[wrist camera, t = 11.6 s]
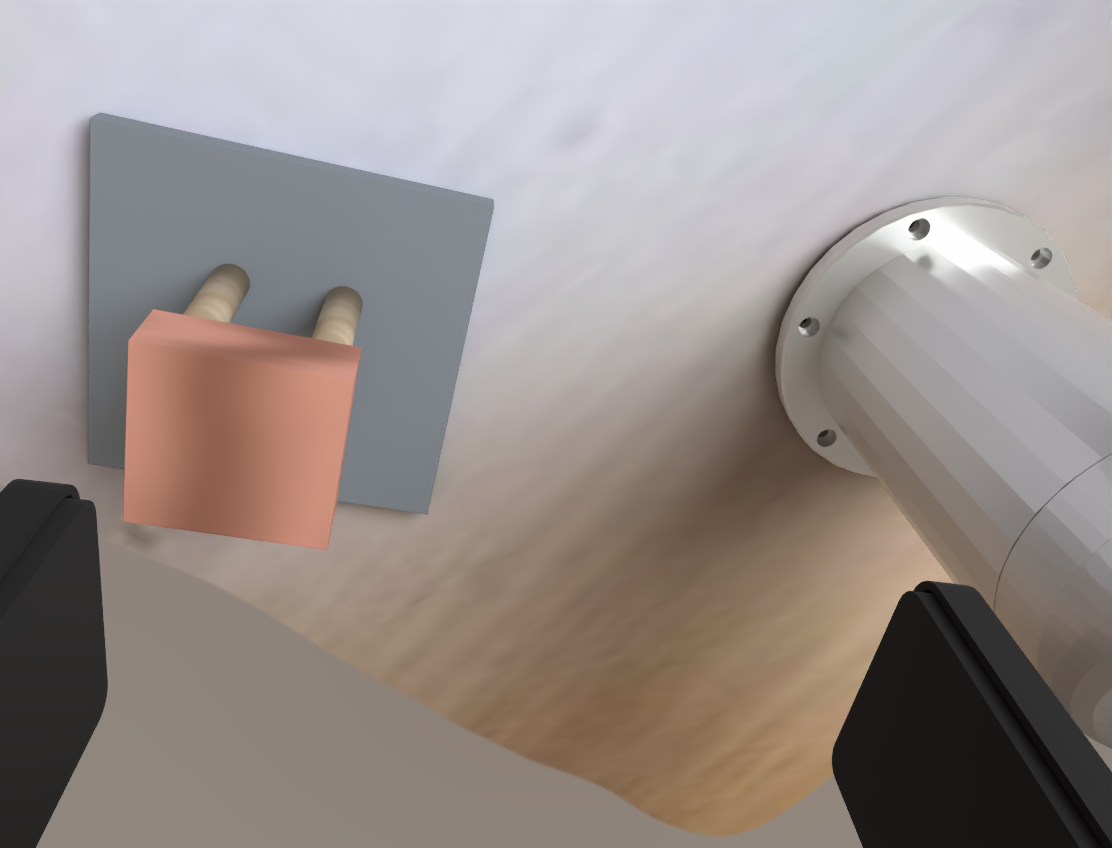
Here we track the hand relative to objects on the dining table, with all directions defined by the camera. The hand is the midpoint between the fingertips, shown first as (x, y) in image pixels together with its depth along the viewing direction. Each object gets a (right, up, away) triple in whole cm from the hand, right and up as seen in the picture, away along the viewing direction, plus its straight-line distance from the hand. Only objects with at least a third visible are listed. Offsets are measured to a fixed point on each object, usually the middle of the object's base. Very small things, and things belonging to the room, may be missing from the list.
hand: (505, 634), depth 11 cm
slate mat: (-10, +6, +26) cm, 28 cm away
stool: (-10, +6, +25) cm, 27 cm away
